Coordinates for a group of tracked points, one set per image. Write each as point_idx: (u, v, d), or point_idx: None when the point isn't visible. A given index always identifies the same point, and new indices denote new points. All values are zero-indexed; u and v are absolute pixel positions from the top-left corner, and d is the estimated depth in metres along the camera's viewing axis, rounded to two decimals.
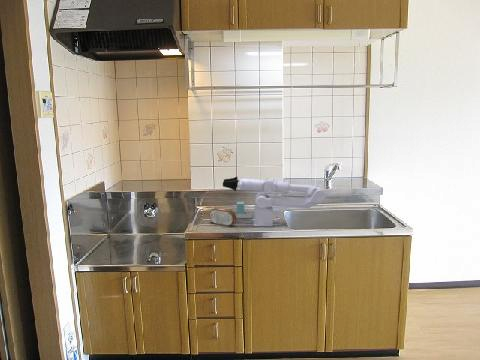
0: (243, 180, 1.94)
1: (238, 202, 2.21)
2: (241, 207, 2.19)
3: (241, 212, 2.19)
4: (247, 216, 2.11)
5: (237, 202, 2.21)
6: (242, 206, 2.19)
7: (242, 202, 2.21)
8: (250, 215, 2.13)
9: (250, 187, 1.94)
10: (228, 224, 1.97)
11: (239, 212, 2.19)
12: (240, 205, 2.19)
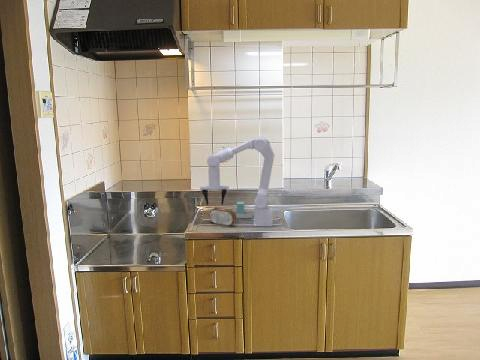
0: None
1: (238, 202, 2.21)
2: (241, 207, 2.19)
3: (241, 212, 2.19)
4: (247, 216, 2.11)
5: (237, 202, 2.21)
6: (242, 206, 2.19)
7: (242, 202, 2.21)
8: (250, 215, 2.13)
9: None
10: (228, 224, 1.97)
11: (239, 212, 2.19)
12: (240, 205, 2.19)
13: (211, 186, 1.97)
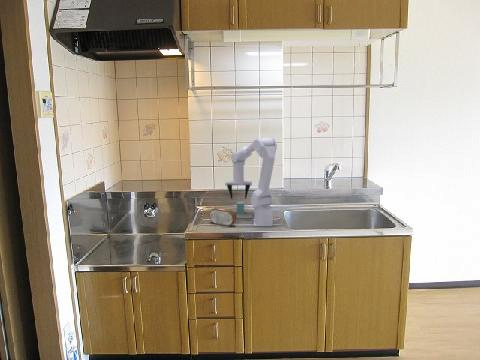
0: None
1: (238, 202, 2.21)
2: (241, 207, 2.19)
3: (241, 212, 2.19)
4: (247, 216, 2.11)
5: (237, 202, 2.21)
6: (242, 206, 2.19)
7: (242, 202, 2.21)
8: (250, 215, 2.13)
9: (233, 174, 2.12)
10: (228, 224, 1.97)
11: (239, 212, 2.19)
12: (240, 205, 2.19)
13: (236, 181, 2.11)
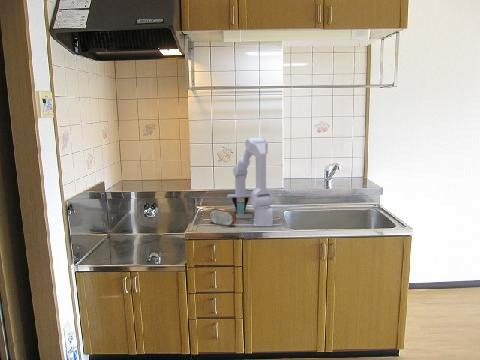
0: None
1: (238, 202, 2.21)
2: (241, 207, 2.19)
3: (241, 212, 2.19)
4: (247, 216, 2.11)
5: (237, 202, 2.21)
6: (242, 206, 2.19)
7: (242, 202, 2.21)
8: (250, 215, 2.13)
9: (235, 187, 2.18)
10: (228, 224, 1.97)
11: (239, 212, 2.19)
12: (240, 205, 2.19)
13: (238, 194, 2.17)
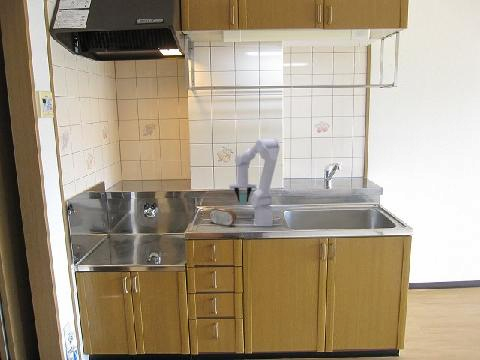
0: None
1: (240, 193, 2.14)
2: (244, 198, 2.11)
3: (244, 203, 2.11)
4: (247, 216, 2.11)
5: (239, 193, 2.14)
6: (245, 196, 2.11)
7: (245, 193, 2.13)
8: (250, 215, 2.13)
9: None
10: (228, 224, 1.97)
11: (241, 203, 2.11)
12: (243, 195, 2.11)
13: (240, 184, 2.09)
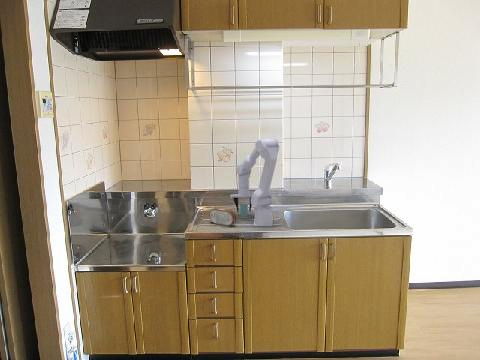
0: None
1: (241, 204, 2.12)
2: (244, 209, 2.10)
3: (244, 215, 2.10)
4: None
5: (240, 204, 2.12)
6: (246, 208, 2.10)
7: (245, 204, 2.12)
8: (250, 215, 2.13)
9: (238, 186, 2.09)
10: (228, 224, 1.97)
11: (242, 215, 2.10)
12: (243, 207, 2.10)
13: (241, 194, 2.08)
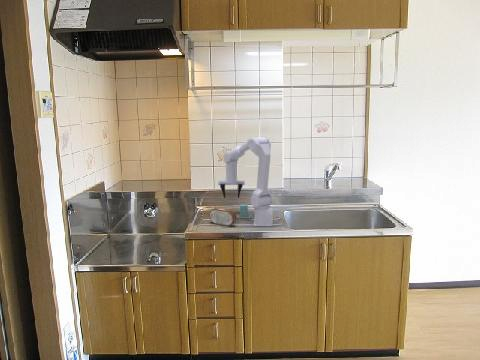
0: None
1: (241, 204, 2.12)
2: (244, 209, 2.10)
3: (244, 215, 2.10)
4: None
5: (240, 204, 2.12)
6: (246, 208, 2.10)
7: (245, 204, 2.12)
8: (250, 215, 2.13)
9: (226, 173, 2.14)
10: (228, 224, 1.97)
11: (242, 215, 2.10)
12: (243, 207, 2.10)
13: (228, 181, 2.14)
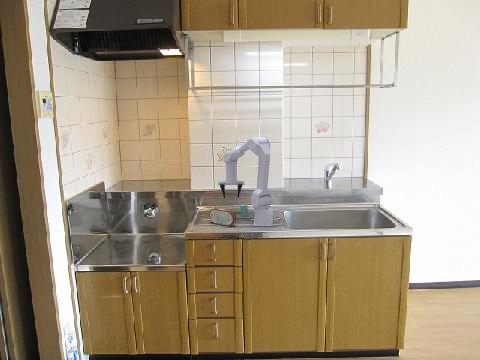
0: None
1: (241, 204, 2.12)
2: (244, 209, 2.10)
3: (244, 215, 2.10)
4: None
5: (240, 204, 2.12)
6: (246, 208, 2.10)
7: (245, 204, 2.12)
8: (250, 215, 2.13)
9: (226, 173, 2.15)
10: (228, 224, 1.97)
11: (242, 215, 2.10)
12: (243, 207, 2.10)
13: (228, 181, 2.14)
